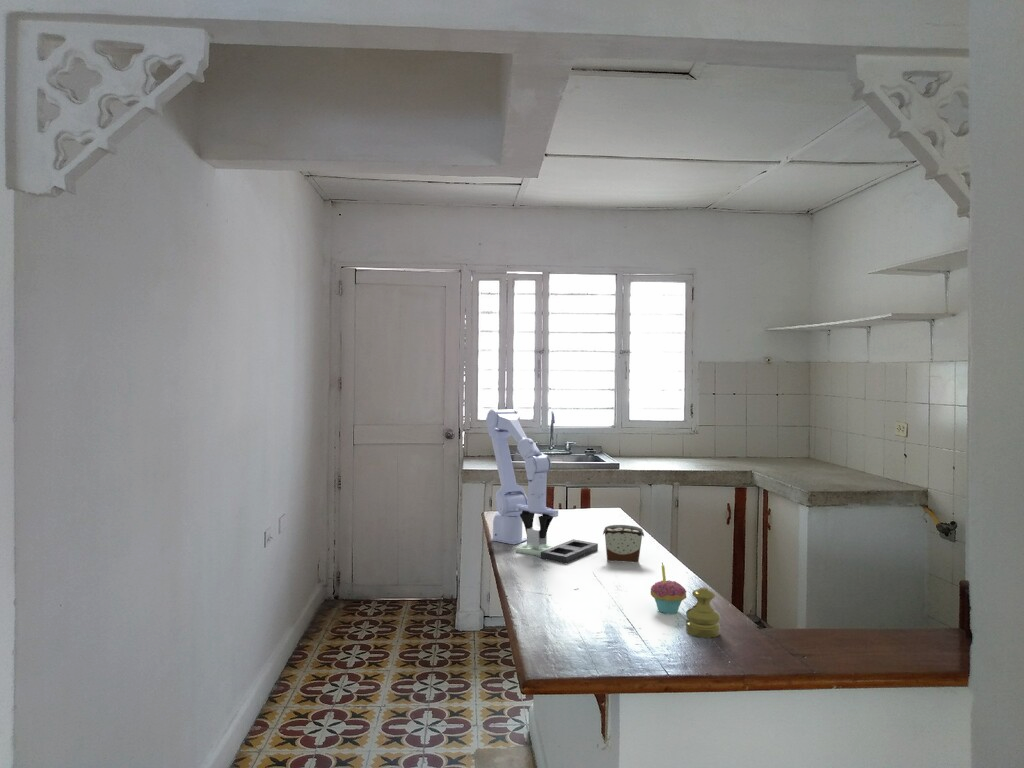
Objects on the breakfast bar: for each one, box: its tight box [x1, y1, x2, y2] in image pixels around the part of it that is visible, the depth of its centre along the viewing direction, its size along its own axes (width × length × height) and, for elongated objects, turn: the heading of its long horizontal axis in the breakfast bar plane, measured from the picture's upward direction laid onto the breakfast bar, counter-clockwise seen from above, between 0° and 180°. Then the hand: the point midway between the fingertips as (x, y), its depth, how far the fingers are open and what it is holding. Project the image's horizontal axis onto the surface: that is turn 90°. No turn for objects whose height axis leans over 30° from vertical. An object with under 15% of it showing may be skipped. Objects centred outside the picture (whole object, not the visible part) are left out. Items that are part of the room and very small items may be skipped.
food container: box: [602, 524, 645, 564], centre depth 223 cm, size 12×6×10 cm, turn 84°
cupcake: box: [650, 562, 687, 615], centre depth 178 cm, size 9×8×12 cm
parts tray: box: [515, 543, 556, 557], centre depth 230 cm, size 9×9×1 cm
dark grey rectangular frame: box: [540, 538, 599, 564], centre depth 228 cm, size 9×20×2 cm, turn 146°
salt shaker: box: [685, 586, 721, 639], centre depth 163 cm, size 7×7×10 cm
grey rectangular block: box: [526, 525, 548, 550], centre depth 230 cm, size 4×4×6 cm
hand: (536, 536), depth 230 cm, fingers closed on grey rectangular block, 4 cm apart
